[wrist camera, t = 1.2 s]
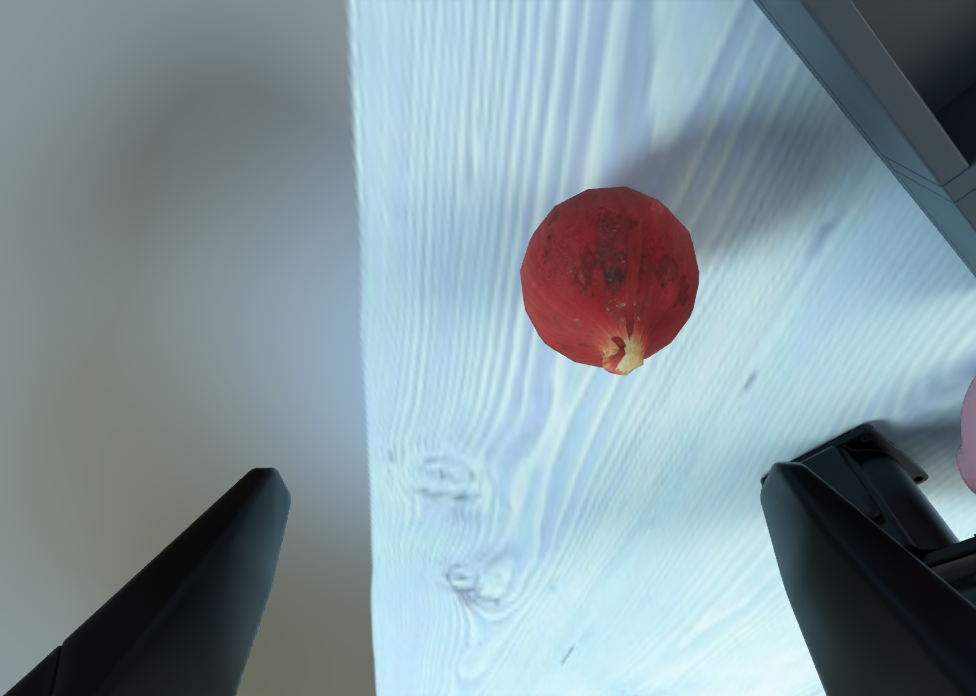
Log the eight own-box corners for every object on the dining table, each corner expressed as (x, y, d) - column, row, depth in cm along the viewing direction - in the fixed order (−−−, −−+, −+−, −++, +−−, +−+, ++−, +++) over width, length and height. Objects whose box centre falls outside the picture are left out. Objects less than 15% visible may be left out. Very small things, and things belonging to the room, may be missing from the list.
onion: (514, 164, 18) (515, 276, 12) (675, 148, 17) (766, 256, 11) (524, 297, 22) (529, 436, 15) (658, 287, 21) (719, 427, 15)
